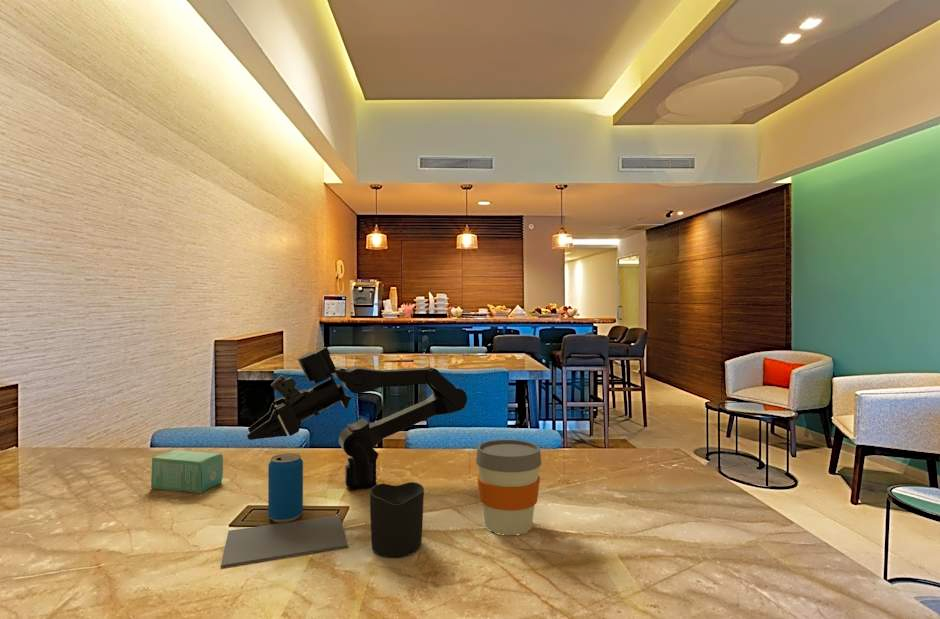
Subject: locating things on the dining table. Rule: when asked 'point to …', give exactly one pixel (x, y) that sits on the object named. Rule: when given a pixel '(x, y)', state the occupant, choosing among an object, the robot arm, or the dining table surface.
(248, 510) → the dining table surface
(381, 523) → the pen holder
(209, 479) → the box
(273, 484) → the beverage can
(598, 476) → the dining table surface
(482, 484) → the reusable coffee cup
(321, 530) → the mat
